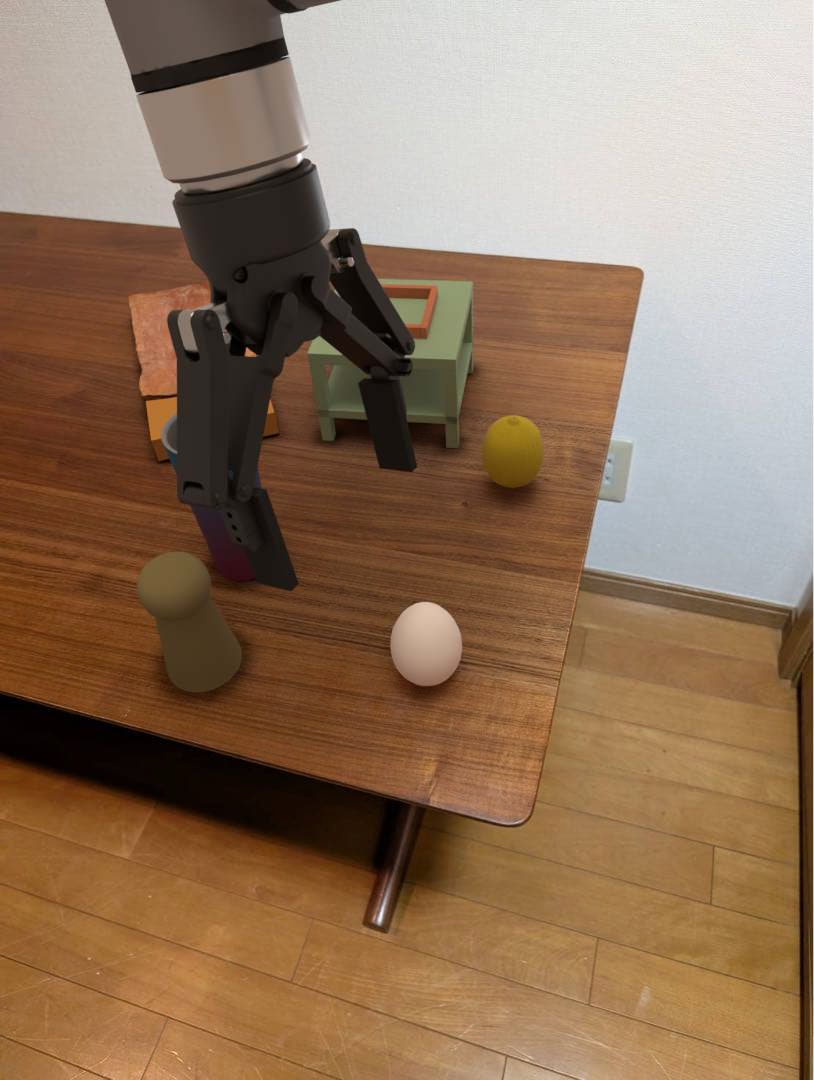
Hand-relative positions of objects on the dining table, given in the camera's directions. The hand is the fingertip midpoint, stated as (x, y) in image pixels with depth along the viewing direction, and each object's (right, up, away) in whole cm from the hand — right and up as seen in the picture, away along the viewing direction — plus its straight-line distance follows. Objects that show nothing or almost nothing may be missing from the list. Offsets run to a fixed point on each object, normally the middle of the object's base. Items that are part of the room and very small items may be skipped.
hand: (343, 521), depth 53 cm
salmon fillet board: (-20, +18, +42) cm, 50 cm away
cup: (-10, -3, +21) cm, 24 cm away
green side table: (+3, +13, +35) cm, 38 cm away
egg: (+6, -12, +11) cm, 17 cm away
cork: (-12, -11, +14) cm, 21 cm away
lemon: (+14, +4, +26) cm, 29 cm away
